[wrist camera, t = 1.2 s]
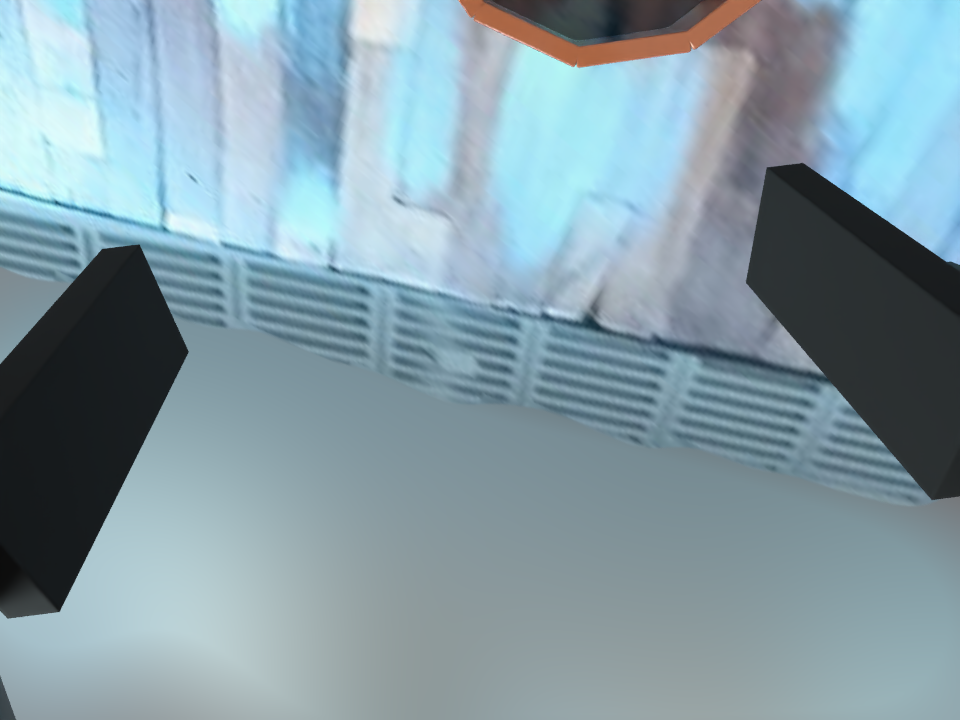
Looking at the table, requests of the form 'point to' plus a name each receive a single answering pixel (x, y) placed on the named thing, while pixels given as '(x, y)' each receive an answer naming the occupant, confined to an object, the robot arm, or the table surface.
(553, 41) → the faceted terracotta ring
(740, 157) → the table surface
